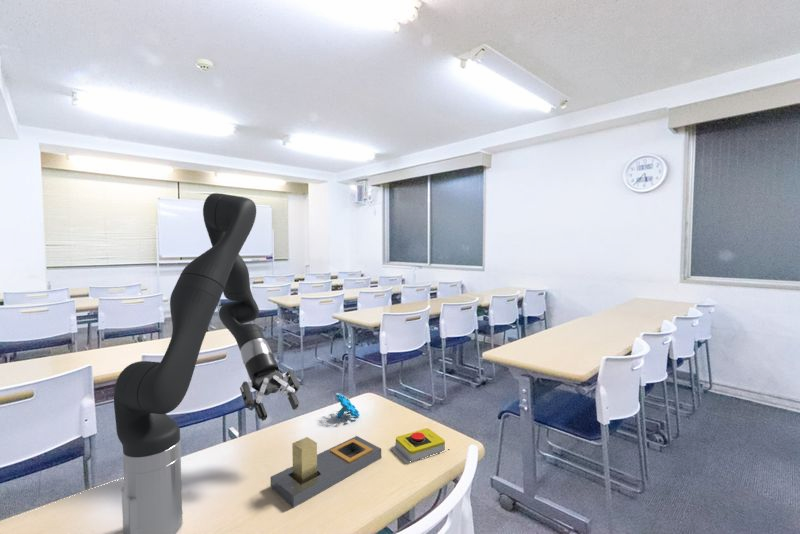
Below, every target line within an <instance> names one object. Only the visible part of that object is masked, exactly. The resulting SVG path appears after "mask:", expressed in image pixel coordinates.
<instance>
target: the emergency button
mask: <svg viewBox="0 0 800 534" xmlns="http://www.w3.org/2000/svg"><path fill="white" fill-rule="evenodd" d="M445 443H446V441H445V439H444V438H443V437H441V436H440V435H439V434H437V433H435V432H434V431H433V430H431V428H423V429H420V430H419V429H418V430H416V431H412V432H409V433H405V434H402V435H399V436H396V437H395V445H393V446H391V447H390V449H391V451H392V452H393V451H394V452H395V453H396V454H395V455H397V457H398V458H399V459H400V460H401V461H402V462H403V463H405V464H411V463H410V461H411V462H412V463H414V462H413V461H415V462H417V461H416V460H418V461H420V460H419V459H421V460H423V459H422V458H424V459H426V458H425V457H427V456H430V455H433V454H436V453H439V452H442V451H444V450H445ZM394 452H393V453H394ZM442 453H443V452H442ZM439 454H440V453H439ZM436 455H437V454H436ZM433 456H434V455H433ZM430 457H431V456H430ZM427 458H428V457H427Z"/></svg>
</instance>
